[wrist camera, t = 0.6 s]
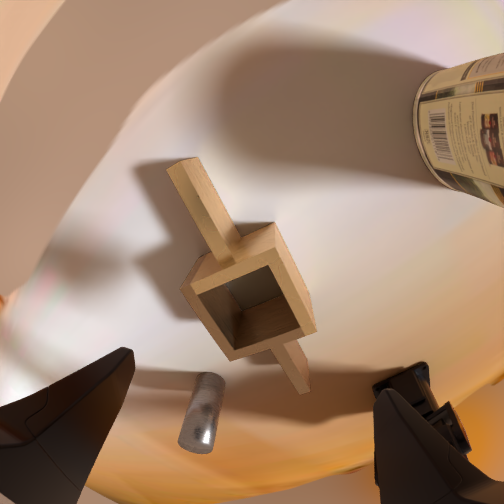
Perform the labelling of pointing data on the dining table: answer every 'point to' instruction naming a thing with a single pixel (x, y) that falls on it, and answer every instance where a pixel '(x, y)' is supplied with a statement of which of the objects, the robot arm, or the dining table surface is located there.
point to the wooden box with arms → (236, 265)
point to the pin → (202, 414)
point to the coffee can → (464, 127)
